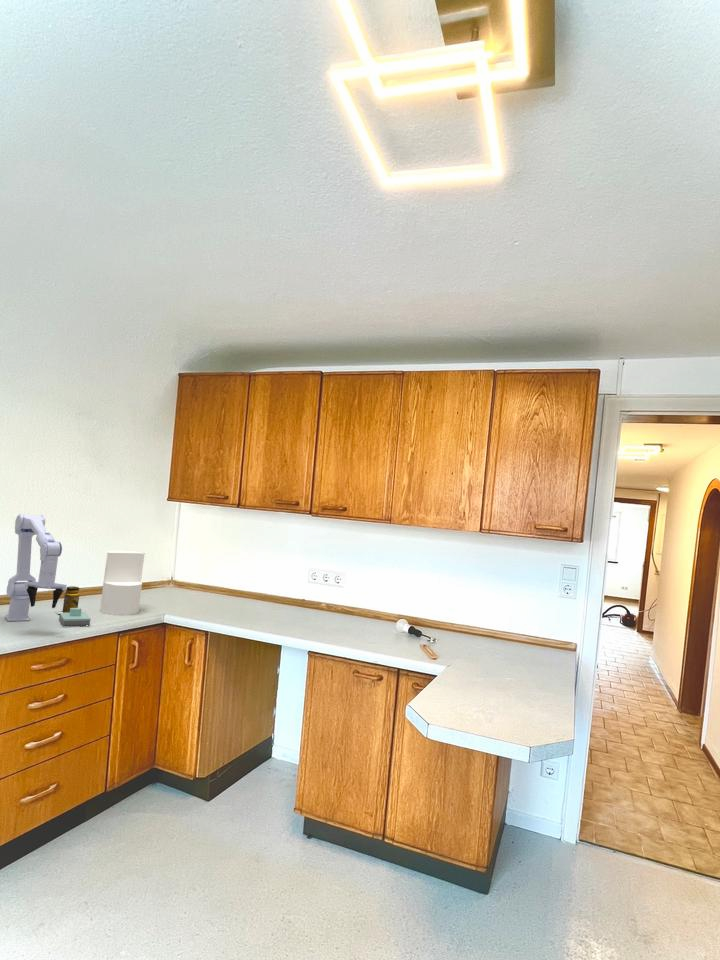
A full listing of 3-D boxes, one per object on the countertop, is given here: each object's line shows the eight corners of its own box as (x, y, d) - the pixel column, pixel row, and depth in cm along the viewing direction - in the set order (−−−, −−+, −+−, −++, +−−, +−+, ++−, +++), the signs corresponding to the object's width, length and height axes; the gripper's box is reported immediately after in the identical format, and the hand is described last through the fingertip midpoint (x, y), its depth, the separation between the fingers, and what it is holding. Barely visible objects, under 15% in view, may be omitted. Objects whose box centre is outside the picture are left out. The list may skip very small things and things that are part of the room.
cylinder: (94, 607, 270) (102, 550, 271) (130, 606, 282) (137, 550, 283) (107, 616, 257) (115, 555, 258) (144, 614, 269) (151, 555, 270)
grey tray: (58, 620, 241) (59, 614, 241) (84, 619, 247) (85, 613, 247) (63, 627, 231) (63, 621, 231) (89, 626, 237) (90, 620, 237)
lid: (59, 615, 241) (60, 605, 241) (84, 615, 247) (86, 605, 247) (63, 622, 231) (65, 612, 231) (89, 621, 237) (91, 611, 237)
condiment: (79, 614, 254) (83, 588, 254) (59, 616, 248) (63, 589, 248) (74, 611, 259) (78, 585, 260) (54, 612, 253) (58, 585, 254)
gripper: (23, 572, 216) (19, 607, 215) (64, 575, 219) (59, 610, 218) (30, 569, 223) (26, 603, 222) (69, 572, 226) (65, 606, 225)
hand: (43, 606), depth 221 cm, fingers open, 7 cm apart
